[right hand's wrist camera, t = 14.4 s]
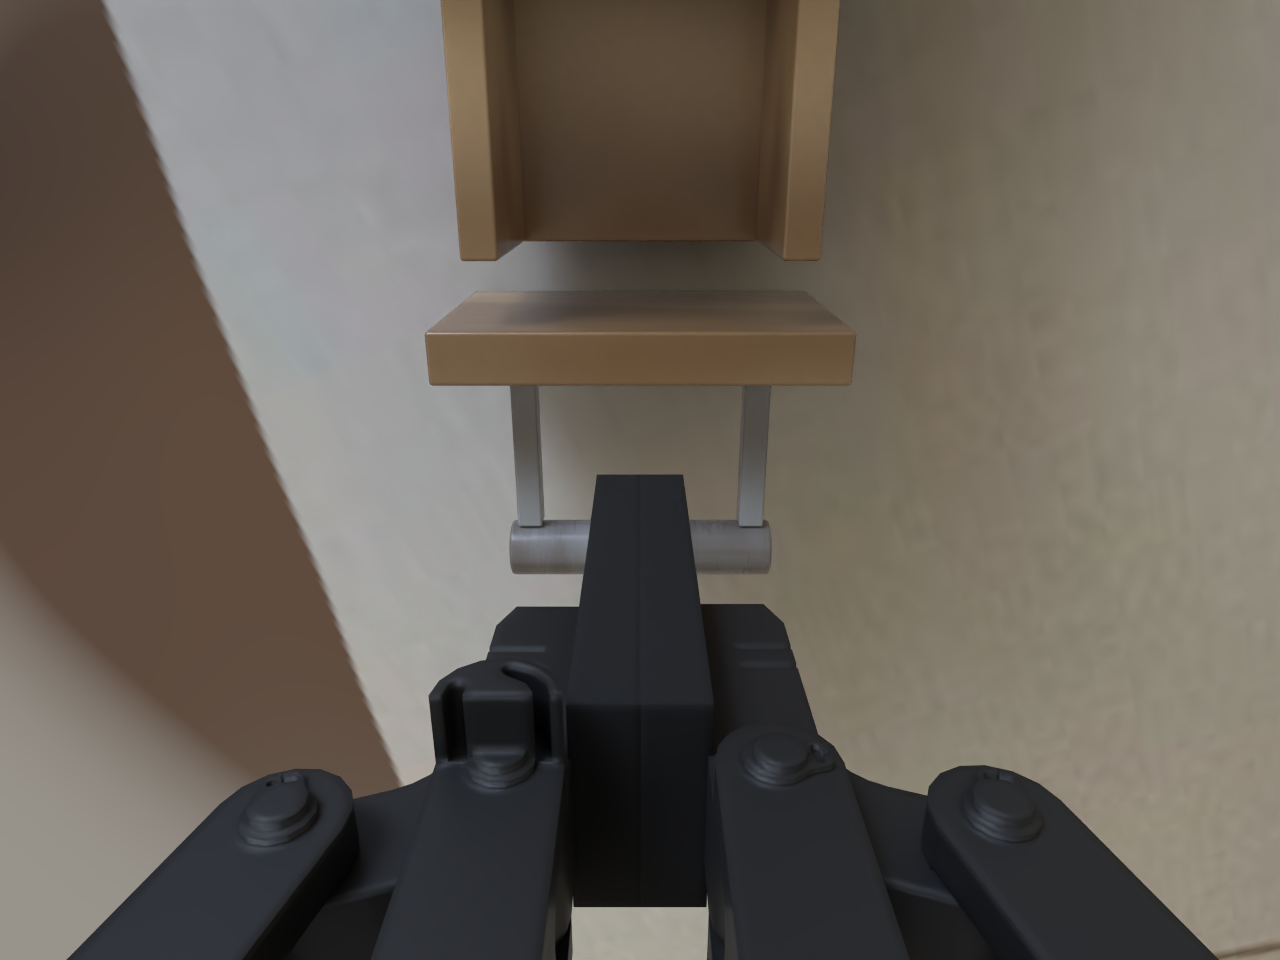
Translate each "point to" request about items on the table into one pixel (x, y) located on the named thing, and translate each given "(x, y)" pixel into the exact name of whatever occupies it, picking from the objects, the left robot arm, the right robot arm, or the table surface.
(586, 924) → the table surface
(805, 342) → the drawer
